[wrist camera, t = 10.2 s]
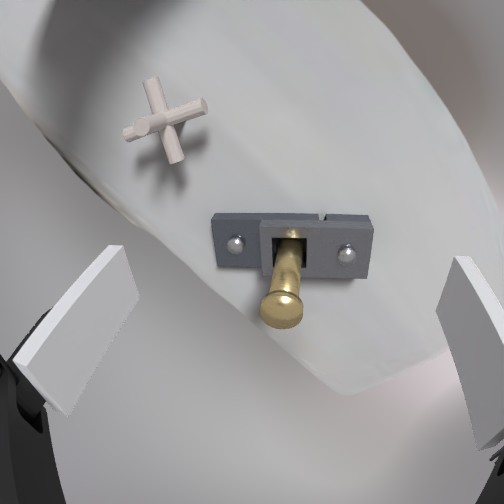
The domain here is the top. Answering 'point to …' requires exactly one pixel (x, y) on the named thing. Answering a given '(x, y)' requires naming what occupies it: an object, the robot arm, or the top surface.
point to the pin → (284, 287)
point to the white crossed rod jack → (164, 120)
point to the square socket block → (295, 226)
